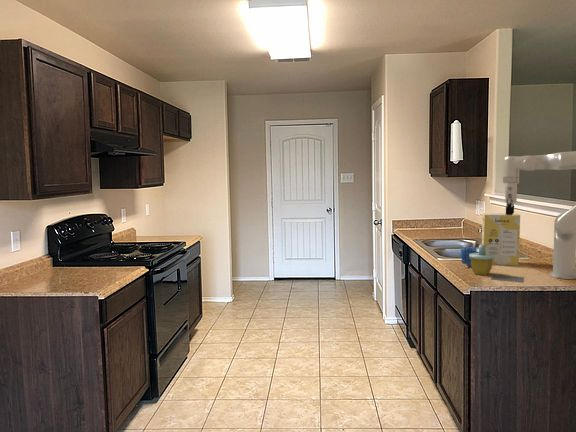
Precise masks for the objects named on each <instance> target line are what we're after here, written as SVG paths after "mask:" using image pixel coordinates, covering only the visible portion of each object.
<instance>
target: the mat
mask: <svg viewBox="0 0 576 432" xmlns="http://www.w3.org/2000/svg"><path fill="white" fill-rule="evenodd" d="M490 280H491V281H500V282H514V283H522V284H524V280H525V277H523V276H513V275H502V274H492V276H491V277H490Z"/></svg>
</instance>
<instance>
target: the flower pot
mask: <svg viewBox="0 0 576 432" xmlns="http://www.w3.org/2000/svg"><path fill="white" fill-rule="evenodd" d="M492 263H493V259H474V258H471V267H470V268H471V270H472V273H474V275H478V276H479V275H480V276H486V275H488V274H490V272H491V269H492V267H493V265H492Z"/></svg>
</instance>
